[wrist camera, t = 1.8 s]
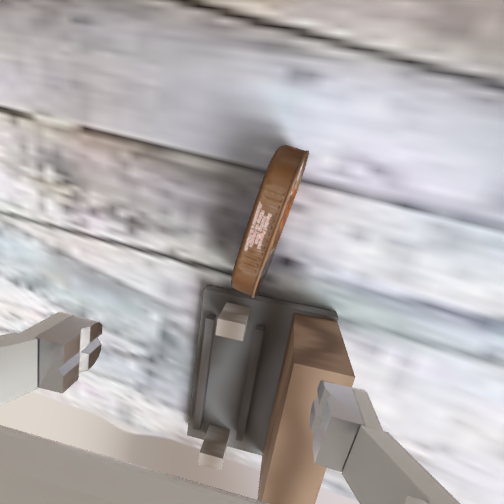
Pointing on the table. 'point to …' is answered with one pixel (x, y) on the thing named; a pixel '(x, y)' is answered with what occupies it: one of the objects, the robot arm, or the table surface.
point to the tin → (268, 218)
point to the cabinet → (264, 386)
